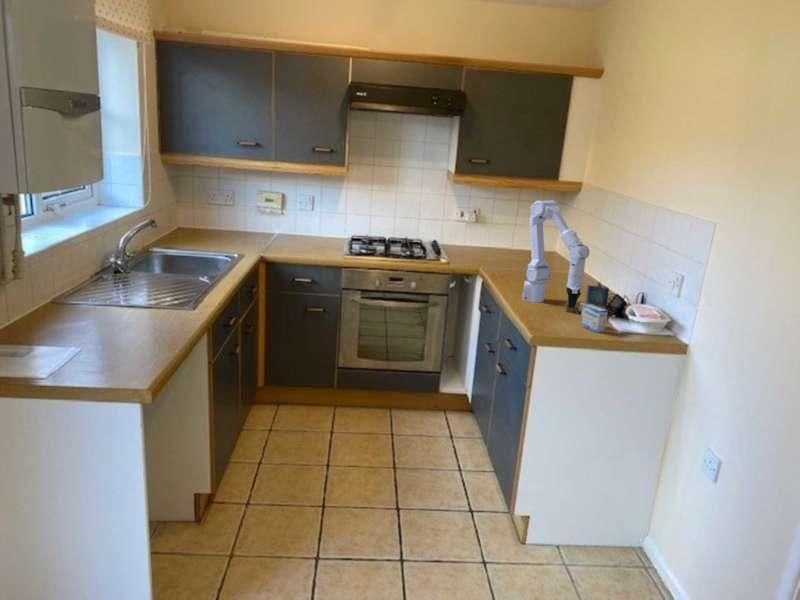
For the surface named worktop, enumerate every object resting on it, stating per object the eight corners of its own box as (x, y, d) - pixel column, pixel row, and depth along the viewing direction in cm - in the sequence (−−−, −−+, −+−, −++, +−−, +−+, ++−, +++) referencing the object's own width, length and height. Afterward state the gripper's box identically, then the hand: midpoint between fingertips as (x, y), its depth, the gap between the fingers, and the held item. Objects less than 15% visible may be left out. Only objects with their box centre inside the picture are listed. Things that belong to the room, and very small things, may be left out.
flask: (584, 304, 263) (587, 280, 260) (585, 303, 266) (589, 279, 263) (605, 308, 259) (609, 284, 256) (607, 307, 261) (610, 283, 258)
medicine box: (580, 326, 231) (584, 305, 229) (588, 325, 233) (592, 304, 231) (596, 333, 225) (600, 311, 222) (604, 331, 227) (608, 309, 225)
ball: (581, 304, 245) (591, 305, 244) (580, 302, 248) (590, 303, 248) (580, 314, 246) (590, 315, 245) (579, 311, 249) (589, 312, 249)
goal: (581, 316, 243) (582, 309, 242) (579, 309, 252) (580, 303, 251) (594, 317, 242) (596, 310, 241) (593, 311, 251) (594, 304, 250)
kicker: (566, 312, 246) (568, 296, 244) (565, 309, 251) (567, 293, 249) (578, 313, 245) (580, 297, 243) (577, 310, 250) (580, 294, 248)
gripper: (587, 279, 236) (582, 312, 240) (584, 271, 250) (580, 303, 254) (569, 277, 238) (564, 310, 241) (567, 270, 251) (563, 301, 255)
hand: (571, 306), depth 248 cm, fingers closed on kicker, 3 cm apart
